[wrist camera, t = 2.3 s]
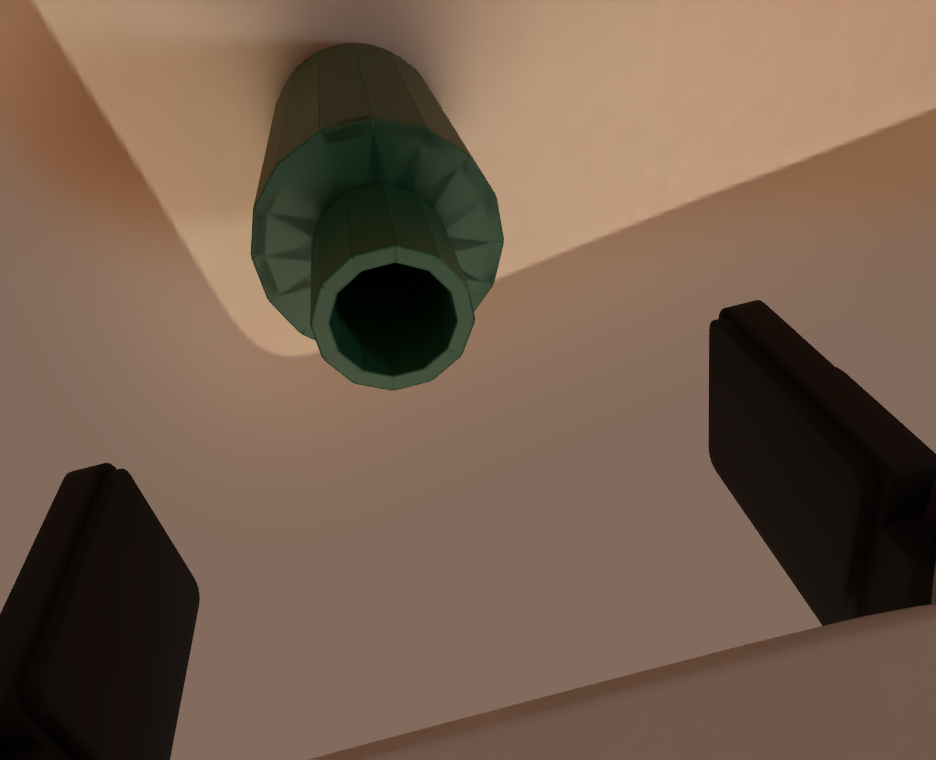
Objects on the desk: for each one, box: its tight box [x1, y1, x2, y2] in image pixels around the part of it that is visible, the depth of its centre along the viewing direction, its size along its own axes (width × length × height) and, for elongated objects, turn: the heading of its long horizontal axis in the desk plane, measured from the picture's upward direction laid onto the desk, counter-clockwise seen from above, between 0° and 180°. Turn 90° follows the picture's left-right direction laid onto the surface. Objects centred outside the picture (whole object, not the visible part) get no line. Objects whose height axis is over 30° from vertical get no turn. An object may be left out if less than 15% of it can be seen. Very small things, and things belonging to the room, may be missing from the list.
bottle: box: [251, 43, 504, 390], centre depth 22 cm, size 6×6×16 cm
